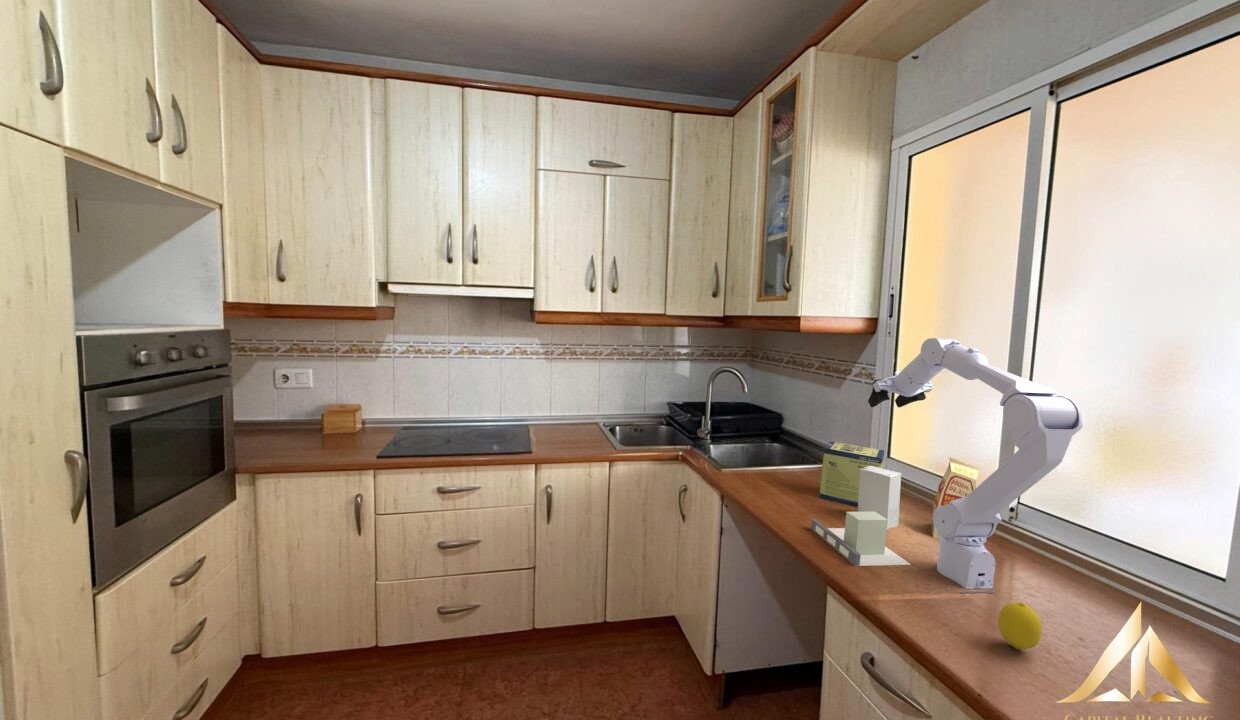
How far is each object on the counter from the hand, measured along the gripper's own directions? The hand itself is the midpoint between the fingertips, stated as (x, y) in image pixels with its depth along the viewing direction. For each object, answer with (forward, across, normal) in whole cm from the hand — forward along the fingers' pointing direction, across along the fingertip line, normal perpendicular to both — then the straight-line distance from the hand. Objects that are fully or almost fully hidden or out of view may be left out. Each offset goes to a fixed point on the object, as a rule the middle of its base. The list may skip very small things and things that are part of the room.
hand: (883, 403), depth 127 cm
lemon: (-15, +9, +56) cm, 59 cm away
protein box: (+34, -4, +13) cm, 36 cm away
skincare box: (+20, 0, +25) cm, 32 cm away
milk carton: (+16, -16, +30) cm, 37 cm away
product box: (+8, +15, +34) cm, 38 cm away
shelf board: (+10, +15, +33) cm, 38 cm away
